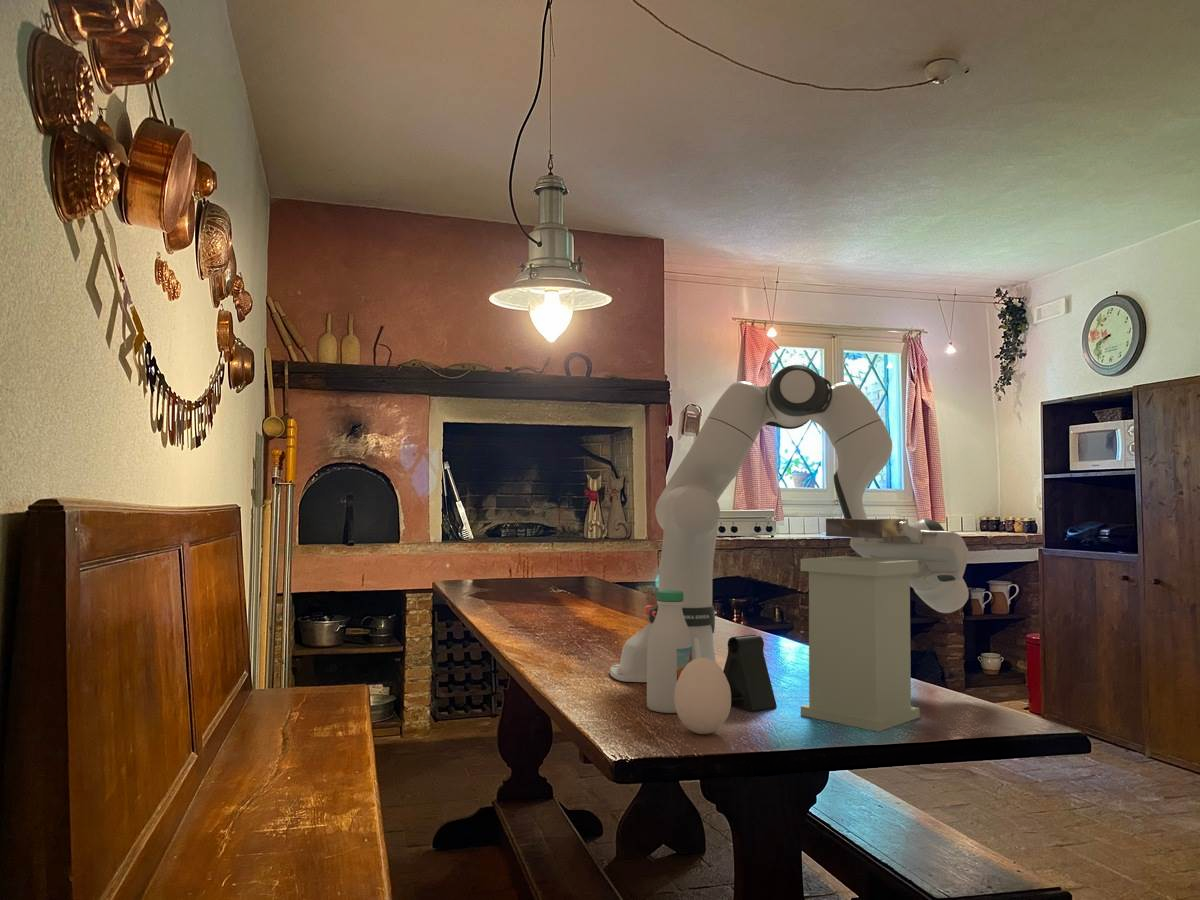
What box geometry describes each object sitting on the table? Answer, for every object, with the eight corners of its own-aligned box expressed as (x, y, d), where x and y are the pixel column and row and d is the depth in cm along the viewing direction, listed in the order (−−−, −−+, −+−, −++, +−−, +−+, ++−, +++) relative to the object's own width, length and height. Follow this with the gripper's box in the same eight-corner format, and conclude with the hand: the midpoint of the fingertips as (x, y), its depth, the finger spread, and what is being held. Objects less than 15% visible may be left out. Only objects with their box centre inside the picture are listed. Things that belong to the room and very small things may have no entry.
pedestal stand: (843, 702, 154) (843, 556, 156) (919, 717, 144) (917, 560, 146) (800, 715, 144) (800, 558, 146) (878, 731, 134) (877, 563, 136)
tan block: (877, 534, 160) (877, 518, 160) (924, 536, 153) (924, 519, 153) (825, 536, 147) (825, 518, 147) (875, 538, 141) (874, 519, 141)
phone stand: (776, 708, 149) (776, 638, 150) (752, 712, 146) (752, 640, 146) (739, 698, 156) (739, 631, 157) (715, 702, 153) (715, 634, 154)
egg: (671, 725, 136) (672, 652, 137) (726, 726, 136) (726, 653, 137) (677, 740, 127) (677, 662, 128) (735, 741, 128) (735, 663, 128)
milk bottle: (661, 716, 142) (662, 593, 144) (638, 706, 149) (639, 589, 150) (700, 711, 146) (701, 592, 147) (676, 702, 153) (677, 588, 154)
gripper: (872, 544, 170) (840, 508, 162) (977, 549, 156) (948, 510, 148) (864, 572, 168) (832, 538, 160) (970, 580, 153) (940, 542, 145)
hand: (889, 524), depth 153 cm, fingers closed on tan block, 3 cm apart
